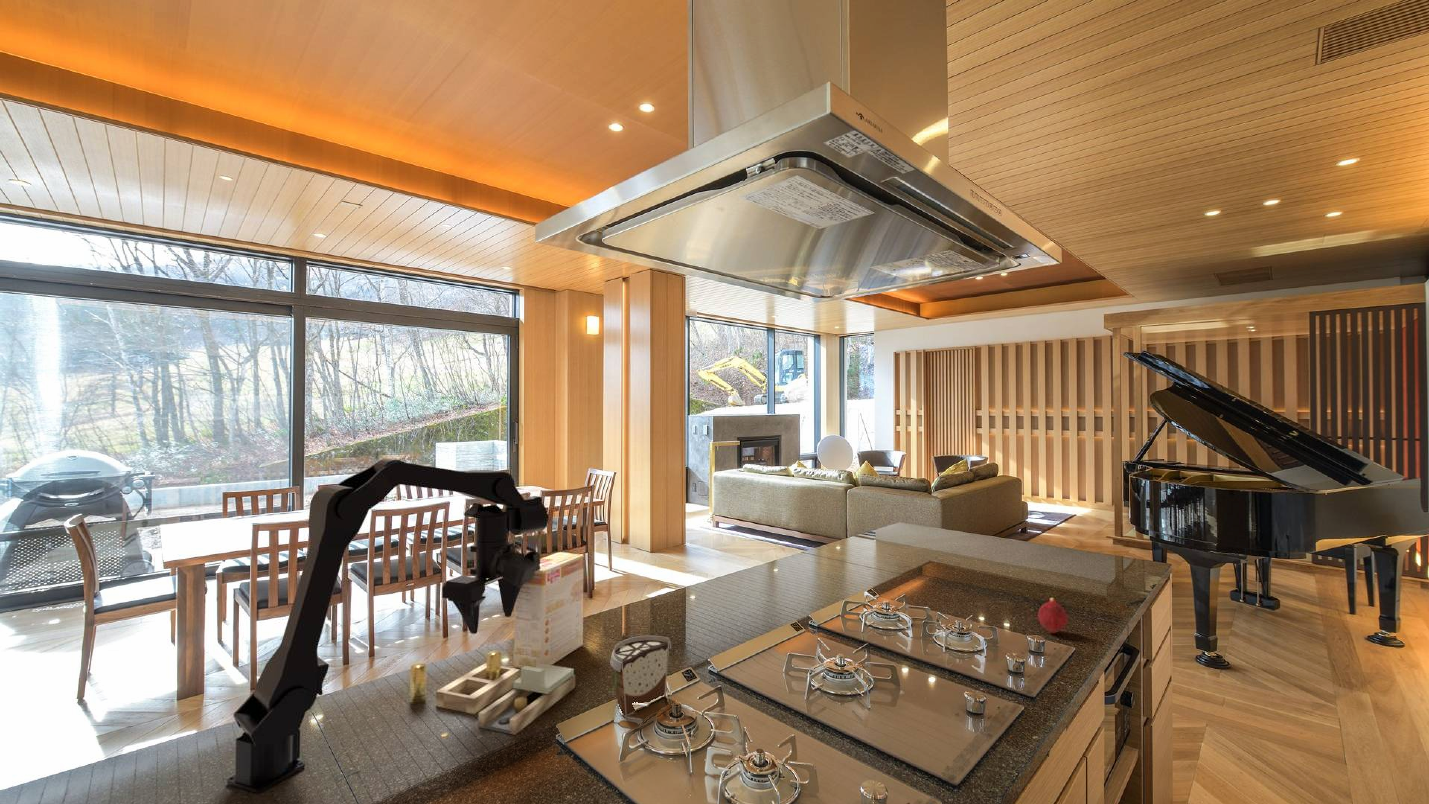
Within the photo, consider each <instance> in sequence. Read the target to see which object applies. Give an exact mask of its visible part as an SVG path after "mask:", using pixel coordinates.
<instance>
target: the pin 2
mask: <svg viewBox="0 0 1429 804" xmlns="http://www.w3.org/2000/svg"><path fill="white" fill-rule="evenodd" d="M501 653H502V651H500V650H491V651H488V652H487V653H486V663H487V680H492V681H493V680H495V679H497V678H498V677H500V676H501V666H502V665H501V664H502V661H501V659H502V658H501V657H502V654H501Z"/></svg>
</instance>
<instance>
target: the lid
mask: <svg viewBox="0 0 1429 804" xmlns="http://www.w3.org/2000/svg"><path fill="white" fill-rule="evenodd" d="M572 675H575V668H572V667H565V666H560V665H559V666H558V665H554V664H552V665H548V664H542V663H541V664H540V665H538V666H537V667H529V666H524V667H522V668H520V678H518V679H517V680H515V681H514V682H513V688H512V689H515V688H518V689H523V690H528V691H534V692H535V693H540V694H548V693H550V692H551V691H552V690H554V689H555V688H556V687H558V686H559V685H560V684H562V683H563V682H564V681H566V680H567V679H568V678H570V677H571V676H572ZM534 692H533V693H534Z"/></svg>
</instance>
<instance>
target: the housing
mask: <svg viewBox="0 0 1429 804" xmlns="http://www.w3.org/2000/svg"><path fill="white" fill-rule="evenodd" d="M575 687H576V674H574V675H572V676H571V677H570V678H568V679H567V680H566V681H564V682H563V683H562V684H560V685H559V686H558V687H556V688H555V689H554V690H552V691H551V692H550V693H548V694H544V693H542V695H541V696H539V697H537V699H535V700H534V701H533V702H531V703H529V704H528V698H527V697H529V696H530V695H531V694H533V693H534V691H528V690H523V689H518V688H512V689H511V690H509V691H508V692H506V693H505V694H503V695H502V696H500V697H499V698H497V699H496V700H494V701H493V702H491V703H490V705H487V706H486V708H485V707H484V708H483V709H481V710H480V711H478V716H477V717H478V720H477V721H478V723H477V724H478V728H481V729H487V730H491V731H495V732H500V733H504V734H510V735H513V736H516V735H517V734H518V733H519V732H520V731H522V730H523V729H524V728H526V726H528V725H530V724H531V723H532V722H533V721H534V720H536V719H537V718H538V717H539V716H541V715H542V714H543V713H544V712H545V711H547V710H548V709H550V708H551V707H552V706H553V705H554V704H556V703H557V702H559V700H561V699H562V698H564V697H565V696H566V695H567V694H569V692H571V691H573V689H575Z"/></svg>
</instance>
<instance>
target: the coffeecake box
mask: <svg viewBox="0 0 1429 804" xmlns="http://www.w3.org/2000/svg"><path fill="white" fill-rule="evenodd" d="M584 557H585V554H579V553H570V552H564V551H563V552H556V553H552V554H550V555H547V556H544V557H542V558H541V557H540V565H539V566H540V570H538V571H535V573H534V576H533V579H532V581H530V582H529V581H528V582H526V583H525V584H524V585H522V587H521V588H520V591H519V593H518V596H517V599H516V602H515V605H514V610H513V611H514V614H513V615H514V616H513V617H514V620H513V621H514V625H513V626H514V627H513V630H514V631H513V668H516V669H521V668H522V667H524V666H529V667H537V666H538V665H540V664H541V663H542V664H548V665H554V664H556V663H557V662H559V661H560V660H561V659H563V658H564V657H566V656H568V655H569V654H571V653H572V652H574V651H575V650H577V649H578V648H580V647H582V646H583V645H584V642H583V641H584V631H583V630H584V627H583V626H584V570H585V569H584V565H585V564H584V563H585V562H584V561H585V558H584Z"/></svg>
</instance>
